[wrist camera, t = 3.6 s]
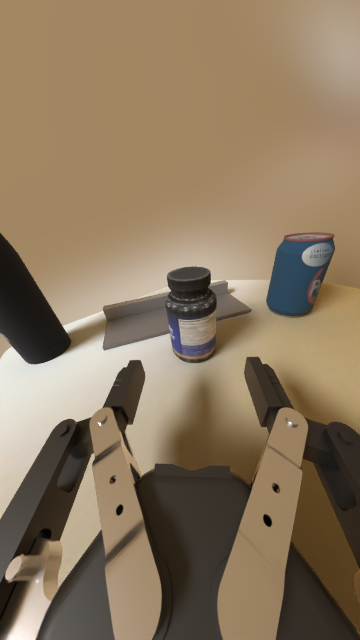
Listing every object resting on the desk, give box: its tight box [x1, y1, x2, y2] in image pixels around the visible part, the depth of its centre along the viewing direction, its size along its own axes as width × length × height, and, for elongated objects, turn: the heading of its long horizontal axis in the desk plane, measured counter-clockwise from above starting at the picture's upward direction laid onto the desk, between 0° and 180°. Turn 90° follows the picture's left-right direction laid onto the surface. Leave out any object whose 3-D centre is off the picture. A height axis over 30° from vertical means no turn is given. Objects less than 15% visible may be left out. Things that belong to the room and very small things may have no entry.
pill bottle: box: [165, 267, 217, 363], centre depth 20 cm, size 6×6×11 cm
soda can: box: [266, 233, 335, 317], centre depth 26 cm, size 7×7×12 cm
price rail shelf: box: [103, 281, 251, 350], centre depth 31 cm, size 26×10×3 cm, turn 107°
